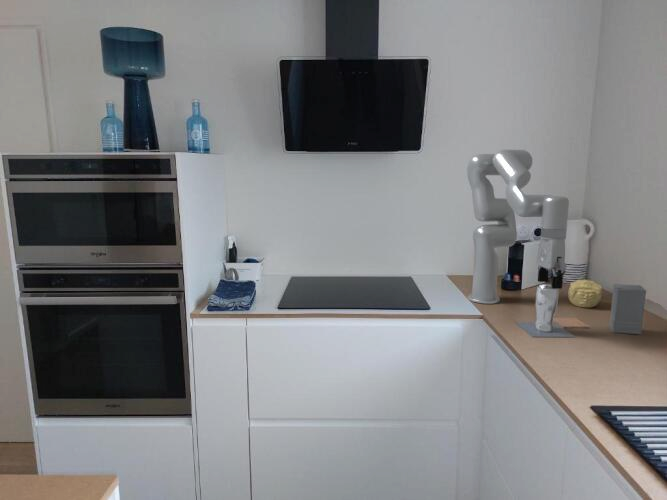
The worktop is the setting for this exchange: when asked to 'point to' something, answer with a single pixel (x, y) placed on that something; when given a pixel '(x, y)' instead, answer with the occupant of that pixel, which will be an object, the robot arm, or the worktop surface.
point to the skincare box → (627, 308)
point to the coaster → (570, 323)
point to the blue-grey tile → (536, 333)
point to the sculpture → (584, 293)
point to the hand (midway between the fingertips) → (549, 284)
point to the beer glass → (545, 307)
